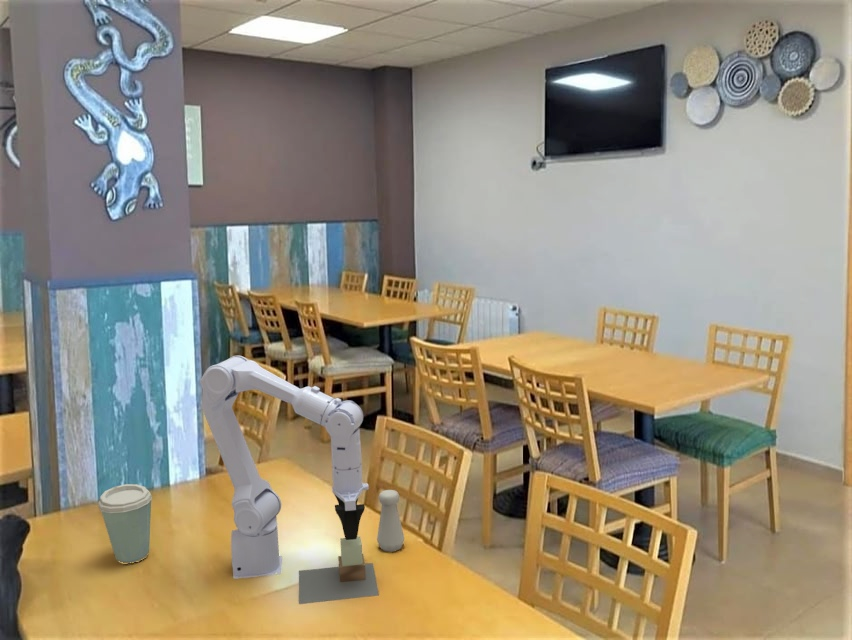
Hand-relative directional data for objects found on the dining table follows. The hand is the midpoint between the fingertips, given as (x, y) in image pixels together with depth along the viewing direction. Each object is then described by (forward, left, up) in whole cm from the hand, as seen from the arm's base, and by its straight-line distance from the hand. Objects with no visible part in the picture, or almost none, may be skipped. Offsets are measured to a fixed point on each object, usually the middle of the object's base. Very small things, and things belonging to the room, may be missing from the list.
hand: (350, 530), depth 152 cm
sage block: (0, 0, -6) cm, 6 cm away
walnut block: (0, 0, -9) cm, 9 cm away
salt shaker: (+9, +10, -10) cm, 17 cm away
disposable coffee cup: (-46, +18, -10) cm, 51 cm away
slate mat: (-3, -3, -10) cm, 11 cm away
